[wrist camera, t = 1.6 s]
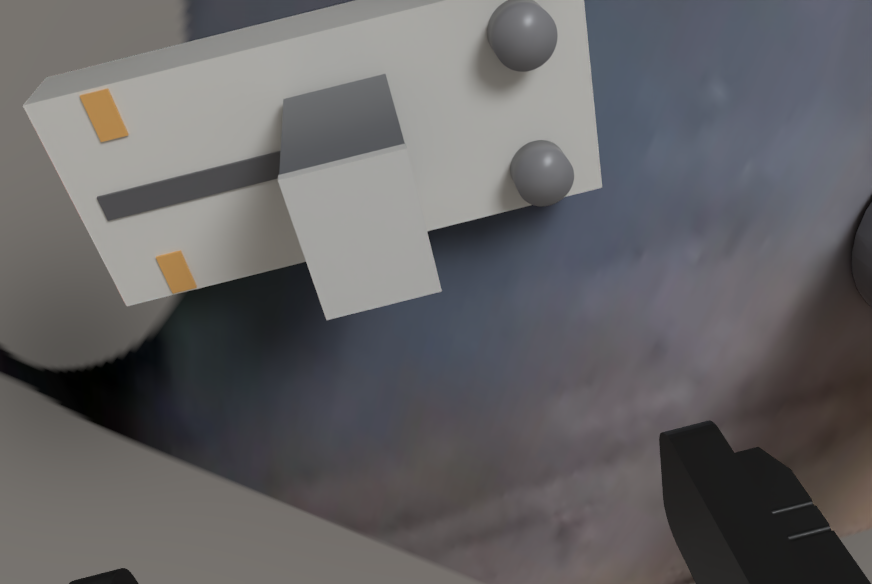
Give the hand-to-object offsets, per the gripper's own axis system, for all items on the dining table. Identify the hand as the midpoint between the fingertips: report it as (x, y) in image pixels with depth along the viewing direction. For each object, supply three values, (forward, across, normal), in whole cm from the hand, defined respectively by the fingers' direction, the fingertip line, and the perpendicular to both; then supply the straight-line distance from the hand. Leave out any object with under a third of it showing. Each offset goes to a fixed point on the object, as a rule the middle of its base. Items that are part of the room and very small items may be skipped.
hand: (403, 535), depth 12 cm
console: (+17, 0, 0) cm, 17 cm away
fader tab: (+15, 0, 0) cm, 15 cm away
